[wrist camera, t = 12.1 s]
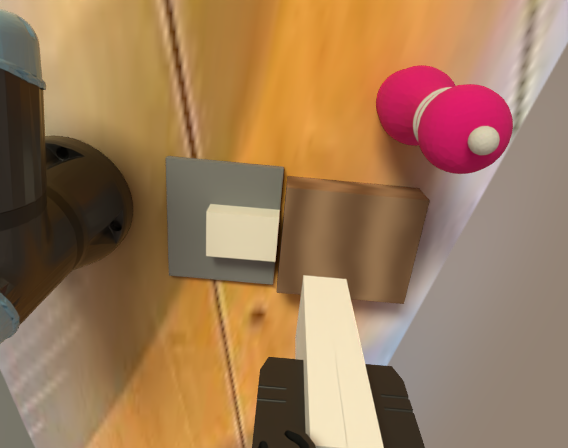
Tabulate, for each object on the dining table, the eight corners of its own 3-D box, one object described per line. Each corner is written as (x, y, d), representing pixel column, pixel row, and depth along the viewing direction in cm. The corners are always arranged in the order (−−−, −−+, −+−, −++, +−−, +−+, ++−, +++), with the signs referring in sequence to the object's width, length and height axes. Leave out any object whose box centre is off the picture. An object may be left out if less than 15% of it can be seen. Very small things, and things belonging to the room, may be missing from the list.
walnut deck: (277, 274, 52) (276, 292, 48) (287, 175, 46) (286, 187, 43) (395, 285, 52) (403, 303, 48) (418, 188, 47) (429, 200, 43)
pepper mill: (436, 134, 44) (537, 200, 26) (368, 135, 44) (421, 201, 26) (445, 62, 41) (566, 78, 23) (373, 64, 41) (436, 81, 23)
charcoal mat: (170, 272, 52) (168, 275, 51) (167, 156, 46) (165, 157, 45) (273, 281, 52) (272, 284, 51) (283, 166, 46) (283, 168, 45)
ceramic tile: (209, 246, 49) (206, 256, 47) (210, 203, 47) (206, 211, 45) (276, 252, 49) (275, 261, 47) (279, 209, 47) (279, 218, 45)
